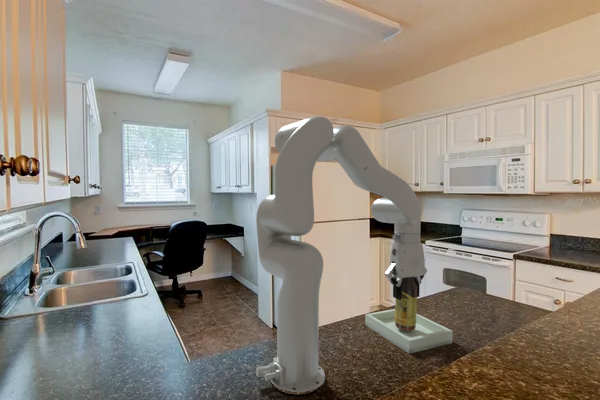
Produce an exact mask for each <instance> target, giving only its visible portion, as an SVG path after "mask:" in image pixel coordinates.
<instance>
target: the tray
mask: <svg viewBox="0 0 600 400" xmlns="http://www.w3.org/2000/svg"><path fill="white" fill-rule="evenodd" d="M364 317H365V319H364V320H365V324H364V325H365V326H366V327H368V328H370V329H371V330H373V331H374V332H376V333H377V334H378V335H380V336H382V337H383V338H384V339H386V340H388V341H389V342H391V343H392V344H394V345H395V346H397V347H398V348H399V349H401V350H403V351H404V352H406V353H407V354H409V355H410V354H414V353H417V352H420V351H421V352H422V351H426V350H429V349H434V348H437V347H441V346H445V345H450V344H452V343H453V339H454V338H453V332H454V331H453V330H452V329H449V328H448V327H446V326H443V325H441V324H439V323H437V322H435V321H433V320H432V319H429V318H427V317H425V316H422V315H420V314H418V313H416V325H415V326H416V327H415V329H414V330H411V331H404V330H401V329H399V328H397V327H396V325H395V308H393V309H387V310H382V311H376V312H369V313H365V314H364Z"/></svg>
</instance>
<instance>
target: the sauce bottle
mask: <svg viewBox="0 0 600 400" xmlns="http://www.w3.org/2000/svg"><path fill="white" fill-rule="evenodd" d="M400 286H401V287H402V299H401V300H398V299H396V298H395V305H394V307H395V308H394V309H395V325H396V327H397V328H399V329H401V330H404V331H411V330H414V329H415V327H416V326H415V325H416V313H417V312H418V311H417V310H418V307H417V306H418V297H417V285H416V283H415V281H414V277H408V278H402V281H401V284H400ZM417 314H418V313H417Z"/></svg>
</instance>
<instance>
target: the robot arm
mask: <svg viewBox="0 0 600 400" xmlns="http://www.w3.org/2000/svg"><path fill="white" fill-rule="evenodd" d="M274 146H275V149H276V151H277V152H278V156H277V159H276V162H275V167H274V194H270V195H268V196H266V197H264V199H262V201H261V202H260V203H259V205H258V208H257V211H256V222H255V223H256V234H257V236H256V237H257V247H258V248H257V249H258V258H259V262H260V265H261V267H262V269H263V270H264V271H265V272H267V273H268V274H270V275H271V276H274V277H277V278H279V279H280V280H282V283H281V284H282V285H281V287H280V290H279V291H278V296H277V303H276V305H277V306H276V314H277V316H276V318H277V321H276V322H277V324H276V325H277V326H276V331H277V333H276V334H277V335H276V357H273V358H272V362H269V363H268V364H269V365H262V366H258V367H256V368H255V374H256V377H257V378H260V377H264V379H265V380H264V381H265V382H267V381H270V380H271V382H272V384H274V385H275V386H276V387H278V388H280V389H283V390H287V391H291V392H306V391H310V390H313V389H316V388H318V387H320V386H321V385H322V384H323V383H324V384H325V382H324V381H326V374H325V371H324V369H323V368H322V367H321V366H320V365H319V335H320V334H319V332H320V330H319V328H320V327H319V324H320V322H319V318H320V317H319V312H320V311H319V308H320V306H319V305H320V302H319V301H320V288H321V284H322V283H321V282H322V277H323V272H324V258H323V255H322V253H321V252H320V250H319V249H318V248H316V247H315V246H314V245H313V244H311V243H308V242H305V241H301V240H296V239H292V237H301V236H302V237H303V236H305V235H307V234H309V233H310V232H311V231H312V229H313V228H314V224H315V207H314V190H313V189H314V187H313V174H314V168H315V166H316V163H317V162H318V163H321V162H323V163H325V162H331V161H332V162H333V161H336V162H337V163H338V164H339V165H340V167H341V168H342V169H343V170H344V172H345V173H346V175H347V176H348V178H349V179H350V180H351V182H352V183H353V184H354V185H355V186H356V187H358V188H360V189H362V190H364V191H368V192H370V193H373V194H376V195H379V196H381V197H380V198H377V199H376V200H374V202H372V204H371V206H370V213H371V216H372V217H373V219H375V220H376V221H378V222H381V223H387V224H394V231H393V232H394V233H393V235H392V237H391V239H392V240H393V242H392V245H391V251H390V258H389V259H390V260H389V267H388V269H387V270H386V271H385V272H384V276H385V277H386V278H387V279H388V281H389V282H390V284H392V297H393V298H394V299H395V300H396V299H398V300H401V299H402V287H401V286H400V284H401V281H402V278H408V277H414V281H415V283H416V285H417V298H419V297H420V291H421V290H420V288H421V286H420V285H421V284H422V280H423V279H424V277H425V275H426V274H427V272H428V269H427V268H426V266H425V264H426V263H425V251H424V250H425V249H424V246H423V243H422V242H421V224H422V223H421V222H422V221H421V220H422V219H421V217H422V203H421V200H420V199H419V198H418V196H417V193H415V191H414V190H413V188H412V187H411V185H410V184H409V183H408V182H407V181H405V180H404V179H402V178H401V177H399V176H398V175H396V174H395V173H394V172H392V171H390V170H388V169H387V168H385V167H383V166H382V165H381V164H380V162H379V161H378V159H377V158H376V156H375V155H374V154H373V152H372V150H371V149H370V147H369V145H368V144H367V142H366V141H365V140H364V138H363V137H362V135H361V134H360V131H358V130H357V129H356V128H355V127H354V126H351V125H341V126H337V127H334V126H333V123H332V122H331V120H330V119H328V118H327V117H324V116H319V115H317V116H312V117H308V118H305V119H302V120H299V121H296V122H293V123H290V124H286V125H285V126H282V127H281V128H279V130H278V131H277V133H276V134H275V137H274ZM271 382H270V383H271ZM272 384H271V385H272ZM324 384H323V385H324ZM293 389H296V390H293Z"/></svg>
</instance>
